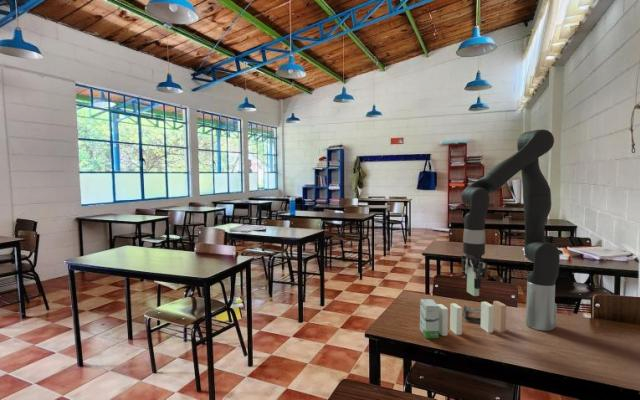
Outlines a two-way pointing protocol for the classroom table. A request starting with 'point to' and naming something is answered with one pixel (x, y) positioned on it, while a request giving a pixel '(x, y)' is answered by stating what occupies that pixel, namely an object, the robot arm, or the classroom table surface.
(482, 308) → the domino
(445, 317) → the domino
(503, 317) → the domino end
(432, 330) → the ink box
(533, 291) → the robot arm
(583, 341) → the classroom table surface
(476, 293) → the domino
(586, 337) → the classroom table surface
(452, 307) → the domino
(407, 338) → the classroom table surface
